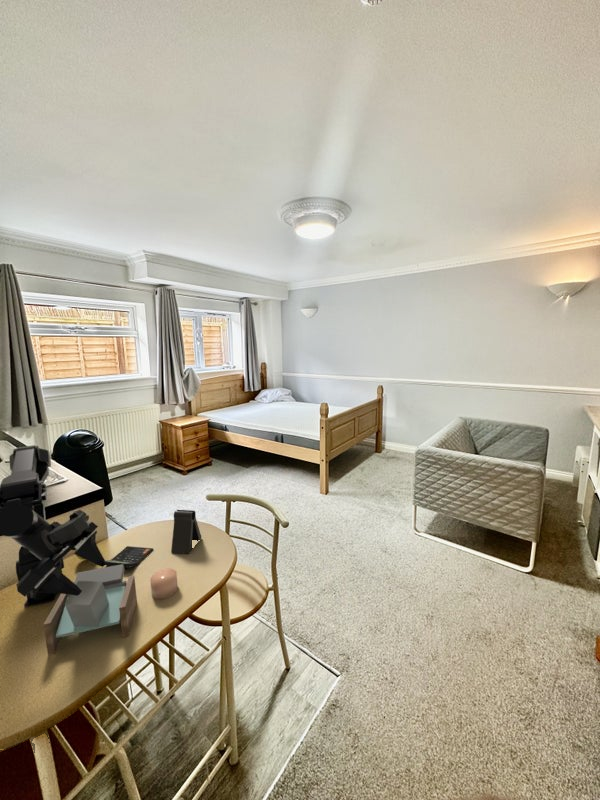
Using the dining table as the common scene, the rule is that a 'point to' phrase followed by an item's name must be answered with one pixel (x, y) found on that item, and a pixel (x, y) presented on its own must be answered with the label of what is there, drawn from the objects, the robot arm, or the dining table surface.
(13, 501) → the robot arm
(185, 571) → the dining table surface
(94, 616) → the gray rectangular block
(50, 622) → the frame
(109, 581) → the trapdoor
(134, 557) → the calculator
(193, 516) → the dark folding easel stand
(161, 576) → the pink rounded block
